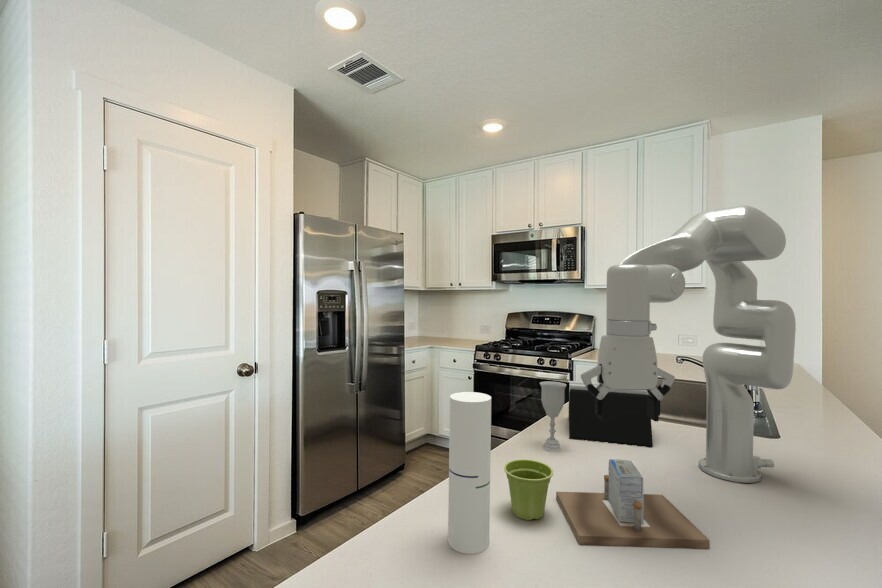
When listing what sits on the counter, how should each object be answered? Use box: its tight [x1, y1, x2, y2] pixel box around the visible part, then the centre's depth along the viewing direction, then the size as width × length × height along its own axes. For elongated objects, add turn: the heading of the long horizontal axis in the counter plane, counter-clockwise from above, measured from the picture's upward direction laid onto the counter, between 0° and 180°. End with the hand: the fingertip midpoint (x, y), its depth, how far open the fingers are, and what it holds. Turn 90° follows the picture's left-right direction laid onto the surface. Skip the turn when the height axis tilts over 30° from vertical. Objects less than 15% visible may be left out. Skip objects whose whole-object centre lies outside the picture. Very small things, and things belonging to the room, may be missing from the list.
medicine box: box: [608, 458, 645, 524], centre depth 79 cm, size 8×4×9 cm, turn 171°
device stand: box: [568, 380, 654, 448], centre depth 132 cm, size 22×22×15 cm
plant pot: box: [503, 458, 554, 521], centre depth 81 cm, size 9×9×9 cm
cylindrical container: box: [447, 391, 492, 555], centre depth 72 cm, size 7×7×25 cm
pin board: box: [555, 474, 711, 550], centre depth 79 cm, size 22×16×6 cm
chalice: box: [539, 380, 567, 453], centre depth 116 cm, size 7×7×18 cm
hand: (627, 419), depth 79 cm, fingers open, 9 cm apart
